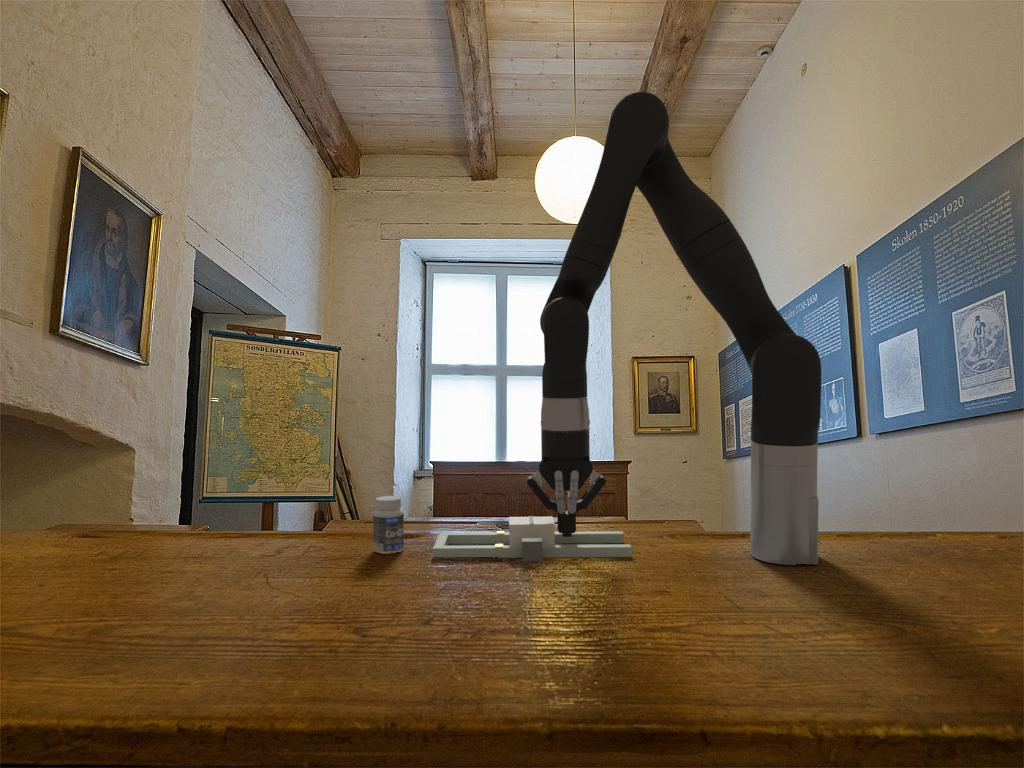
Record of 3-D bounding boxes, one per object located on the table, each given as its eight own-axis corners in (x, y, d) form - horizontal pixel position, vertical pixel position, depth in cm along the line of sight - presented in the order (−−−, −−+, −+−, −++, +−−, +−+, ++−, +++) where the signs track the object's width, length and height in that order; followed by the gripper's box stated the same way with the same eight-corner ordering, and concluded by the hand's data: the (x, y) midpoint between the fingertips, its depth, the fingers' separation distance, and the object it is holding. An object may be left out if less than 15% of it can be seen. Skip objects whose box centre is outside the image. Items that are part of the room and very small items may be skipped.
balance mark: (504, 532, 112) (504, 531, 112) (502, 548, 103) (502, 546, 103) (496, 532, 112) (496, 531, 112) (494, 548, 103) (494, 546, 103)
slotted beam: (622, 540, 112) (622, 522, 111) (633, 560, 100) (633, 540, 100) (440, 541, 112) (439, 523, 112) (431, 562, 101) (430, 542, 101)
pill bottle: (388, 556, 104) (387, 502, 103) (367, 551, 107) (366, 498, 106) (410, 549, 108) (409, 497, 107) (389, 544, 110) (389, 493, 110)
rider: (552, 544, 110) (552, 515, 110) (554, 552, 105) (554, 523, 105) (509, 544, 110) (509, 516, 110) (509, 553, 105) (509, 523, 105)
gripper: (604, 423, 110) (605, 529, 111) (522, 424, 110) (524, 530, 111) (610, 428, 102) (611, 541, 103) (523, 429, 103) (524, 542, 103)
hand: (566, 535), depth 107 cm, fingers closed
